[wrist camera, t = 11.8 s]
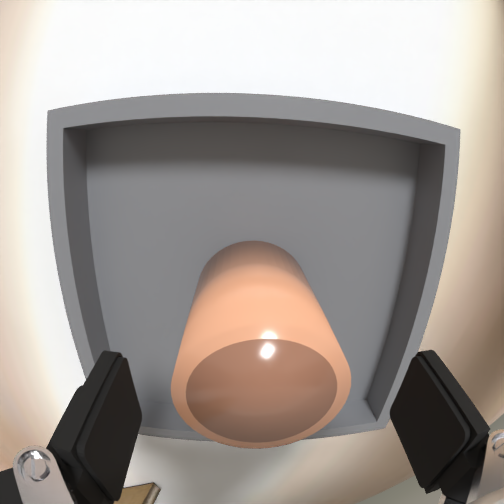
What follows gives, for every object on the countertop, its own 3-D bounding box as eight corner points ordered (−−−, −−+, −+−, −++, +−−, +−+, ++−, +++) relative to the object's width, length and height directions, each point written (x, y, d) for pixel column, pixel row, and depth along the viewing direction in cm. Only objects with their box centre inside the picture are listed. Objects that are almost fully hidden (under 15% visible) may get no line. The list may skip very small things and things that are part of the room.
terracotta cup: (311, 242, 16) (369, 322, 8) (300, 338, 18) (332, 444, 10) (195, 239, 16) (159, 321, 8) (199, 337, 18) (181, 446, 10)
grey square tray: (425, 129, 15) (460, 129, 12) (370, 397, 22) (385, 428, 18) (80, 115, 14) (47, 110, 11) (117, 396, 21) (105, 428, 17)
